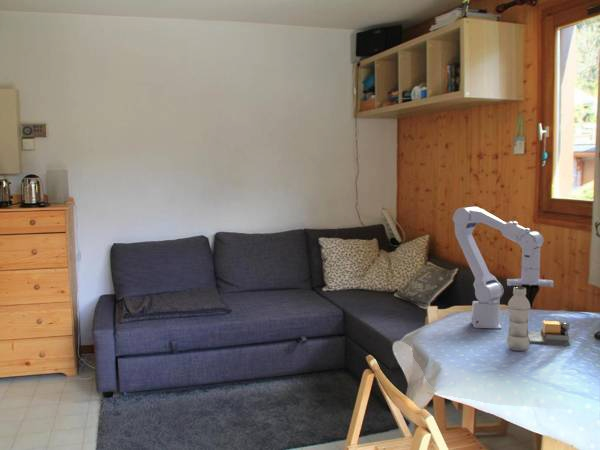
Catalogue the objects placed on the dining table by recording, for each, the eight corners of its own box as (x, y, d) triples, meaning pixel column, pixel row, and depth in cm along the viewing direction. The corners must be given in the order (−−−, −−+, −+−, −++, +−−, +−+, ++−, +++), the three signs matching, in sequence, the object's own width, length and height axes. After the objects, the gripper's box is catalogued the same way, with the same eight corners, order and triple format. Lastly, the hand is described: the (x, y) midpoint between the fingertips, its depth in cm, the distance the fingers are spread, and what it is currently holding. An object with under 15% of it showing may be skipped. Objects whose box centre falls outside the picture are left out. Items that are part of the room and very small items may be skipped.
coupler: (530, 343, 186) (530, 326, 185) (524, 333, 196) (525, 317, 195) (572, 345, 183) (573, 327, 183) (564, 335, 193) (565, 318, 192)
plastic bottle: (531, 353, 176) (533, 291, 174) (508, 352, 178) (510, 290, 175) (527, 346, 183) (529, 286, 180) (505, 345, 184) (506, 285, 181)
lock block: (544, 338, 188) (545, 323, 187) (542, 335, 191) (542, 320, 191) (561, 339, 187) (561, 324, 186) (558, 335, 190) (558, 321, 190)
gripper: (509, 269, 189) (508, 309, 191) (556, 270, 186) (554, 310, 188) (506, 265, 196) (505, 303, 198) (551, 266, 193) (549, 305, 195)
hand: (529, 306), depth 193 cm, fingers closed
